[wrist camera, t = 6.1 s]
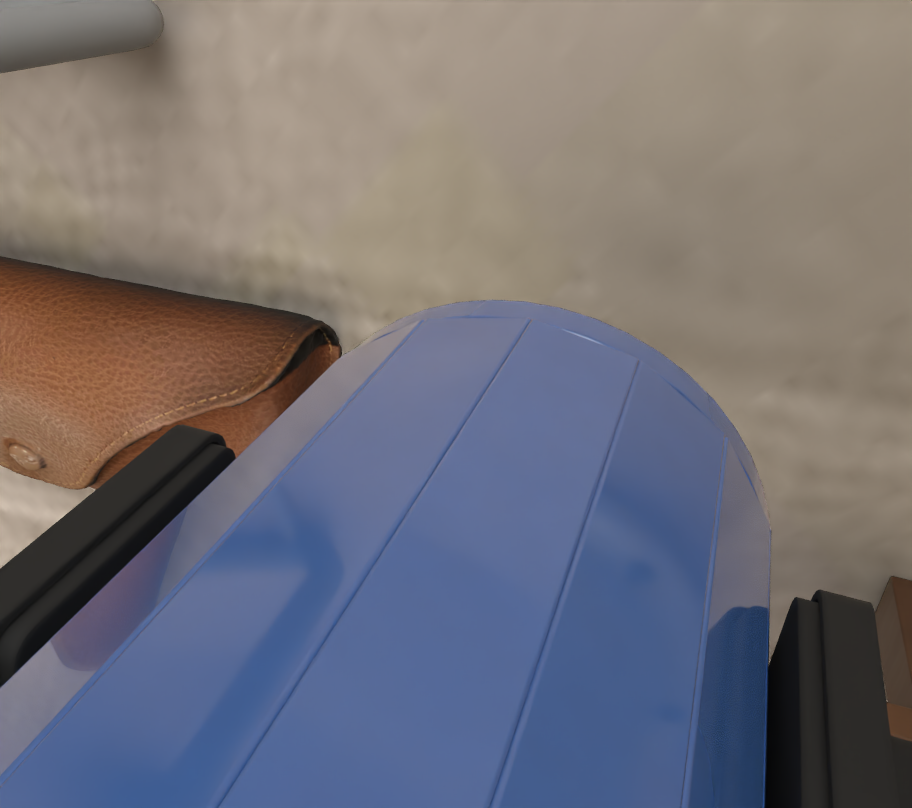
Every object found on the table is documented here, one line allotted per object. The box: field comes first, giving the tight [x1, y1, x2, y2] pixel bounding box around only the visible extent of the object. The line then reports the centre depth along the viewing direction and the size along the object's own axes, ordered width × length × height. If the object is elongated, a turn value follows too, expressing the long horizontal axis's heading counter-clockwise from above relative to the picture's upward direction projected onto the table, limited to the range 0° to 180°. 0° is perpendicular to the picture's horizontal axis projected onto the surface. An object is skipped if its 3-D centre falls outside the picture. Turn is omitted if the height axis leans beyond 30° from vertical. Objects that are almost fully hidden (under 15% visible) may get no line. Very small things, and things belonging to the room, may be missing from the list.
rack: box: [875, 576, 912, 742], centre depth 25 cm, size 17×13×7 cm
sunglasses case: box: [0, 256, 341, 489], centre depth 27 cm, size 18×7×7 cm
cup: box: [0, 300, 771, 808], centre depth 8 cm, size 7×7×9 cm
